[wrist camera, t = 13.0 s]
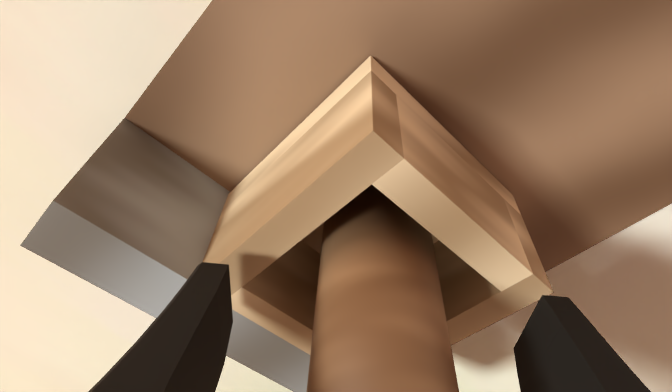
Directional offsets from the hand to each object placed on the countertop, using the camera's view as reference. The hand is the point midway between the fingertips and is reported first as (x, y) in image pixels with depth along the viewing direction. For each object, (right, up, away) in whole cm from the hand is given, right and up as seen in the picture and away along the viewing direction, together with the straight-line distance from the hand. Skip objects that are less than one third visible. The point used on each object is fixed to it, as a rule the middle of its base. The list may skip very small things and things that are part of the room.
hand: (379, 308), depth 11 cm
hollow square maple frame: (0, +3, +4) cm, 5 cm away
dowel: (0, +2, +3) cm, 4 cm away
